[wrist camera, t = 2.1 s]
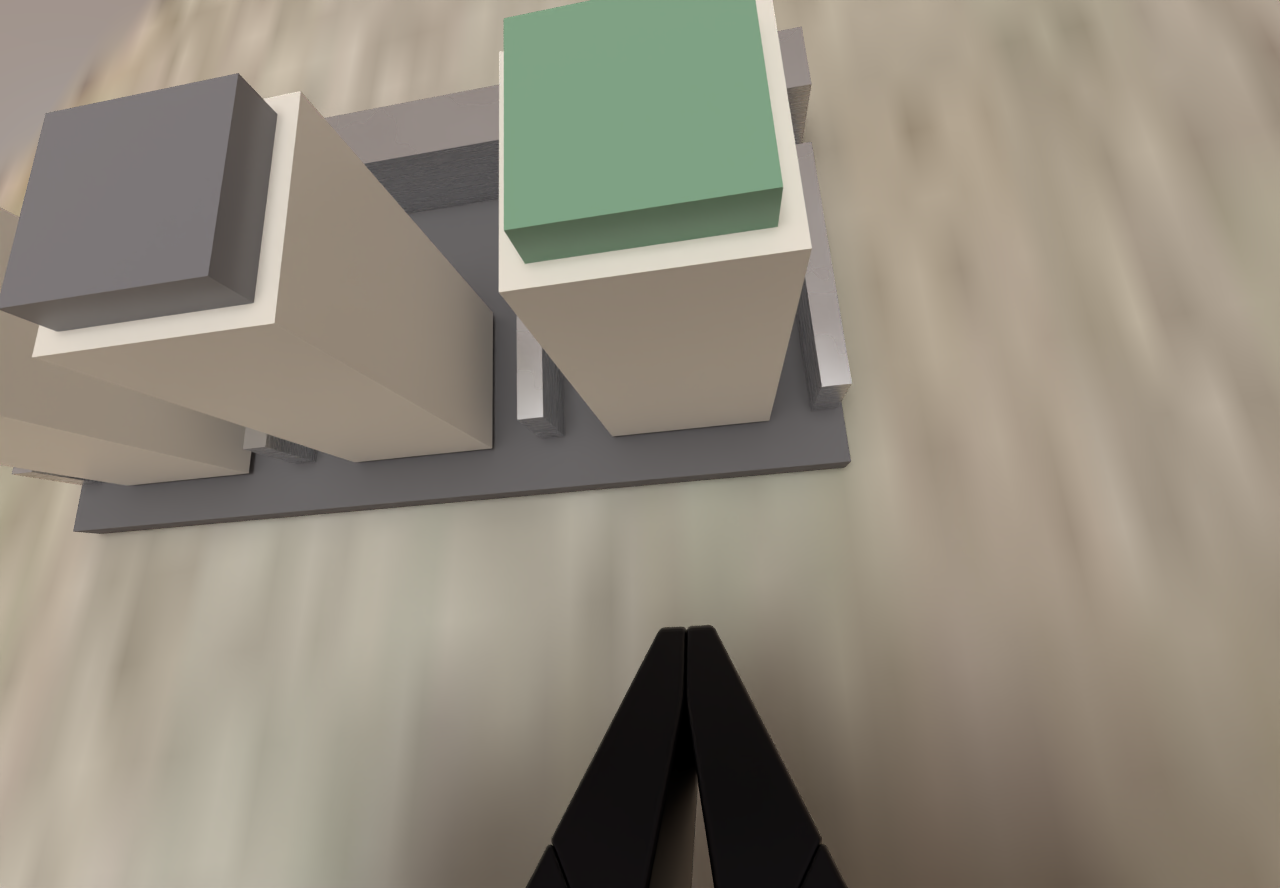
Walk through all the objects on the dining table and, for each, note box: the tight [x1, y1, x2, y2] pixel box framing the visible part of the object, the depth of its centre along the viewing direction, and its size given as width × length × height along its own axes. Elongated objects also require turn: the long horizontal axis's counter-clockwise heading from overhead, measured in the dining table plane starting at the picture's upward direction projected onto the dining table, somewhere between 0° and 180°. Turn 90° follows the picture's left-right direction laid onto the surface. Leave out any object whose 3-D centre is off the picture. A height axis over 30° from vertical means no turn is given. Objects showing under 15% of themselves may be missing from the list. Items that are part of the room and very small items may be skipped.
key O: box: [0, 207, 251, 486], centre depth 14 cm, size 4×4×9 cm
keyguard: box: [12, 27, 852, 486], centre depth 17 cm, size 10×24×2 cm, turn 94°
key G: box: [499, 0, 812, 436], centre depth 12 cm, size 4×4×9 cm
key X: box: [0, 73, 493, 462], centre depth 13 cm, size 4×4×9 cm
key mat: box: [73, 199, 851, 534], centre depth 18 cm, size 12×24×1 cm, turn 94°
